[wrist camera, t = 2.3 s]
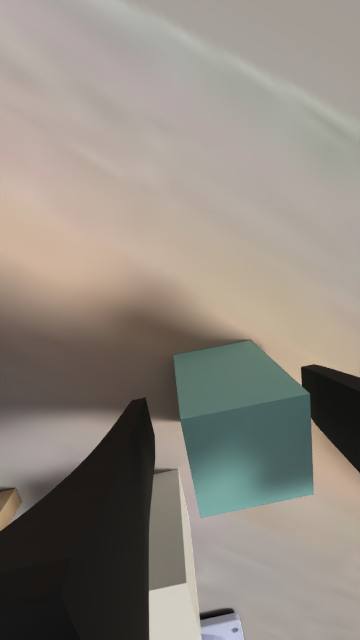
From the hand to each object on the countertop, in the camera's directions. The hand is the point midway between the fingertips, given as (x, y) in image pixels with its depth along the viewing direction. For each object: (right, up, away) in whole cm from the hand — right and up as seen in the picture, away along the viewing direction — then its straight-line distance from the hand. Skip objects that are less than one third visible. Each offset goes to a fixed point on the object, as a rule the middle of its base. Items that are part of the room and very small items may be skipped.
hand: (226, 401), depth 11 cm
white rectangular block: (-4, -7, +3) cm, 9 cm away
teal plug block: (0, 0, +2) cm, 2 cm away
